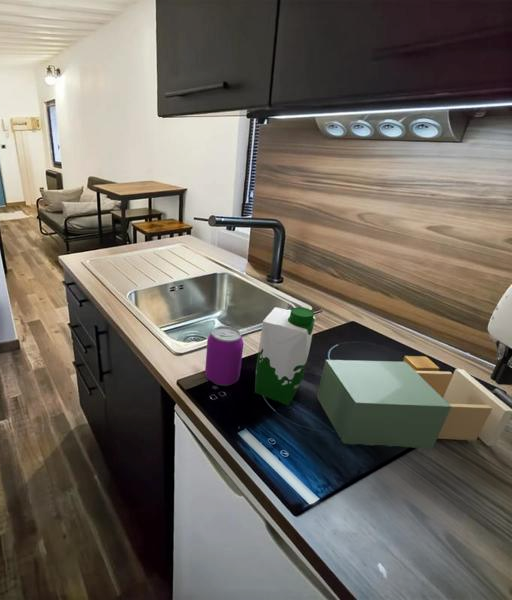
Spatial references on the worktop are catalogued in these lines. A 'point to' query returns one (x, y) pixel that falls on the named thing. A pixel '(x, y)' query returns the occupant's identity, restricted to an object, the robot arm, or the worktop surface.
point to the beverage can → (224, 355)
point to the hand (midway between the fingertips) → (503, 381)
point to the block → (421, 363)
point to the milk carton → (283, 353)
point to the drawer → (470, 406)
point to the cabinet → (381, 403)
